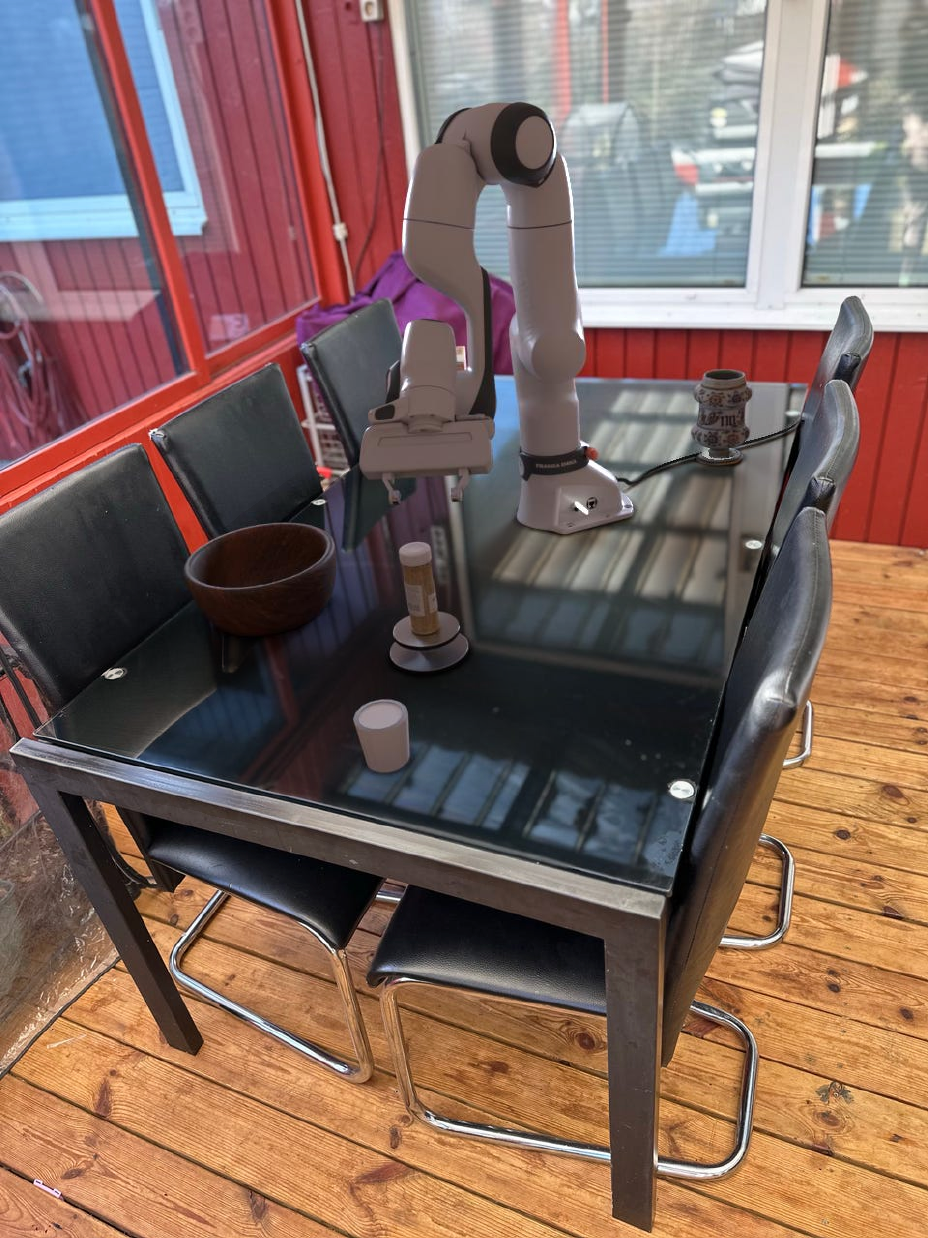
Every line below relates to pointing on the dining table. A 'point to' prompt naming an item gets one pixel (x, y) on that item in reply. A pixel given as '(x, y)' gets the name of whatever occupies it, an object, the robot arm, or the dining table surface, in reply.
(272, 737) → the dining table surface
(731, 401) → the apothecary jar
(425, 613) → the sprinkles bottle
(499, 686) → the dining table surface
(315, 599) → the wooden bowl
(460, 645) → the stand
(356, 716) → the pale pink cup
